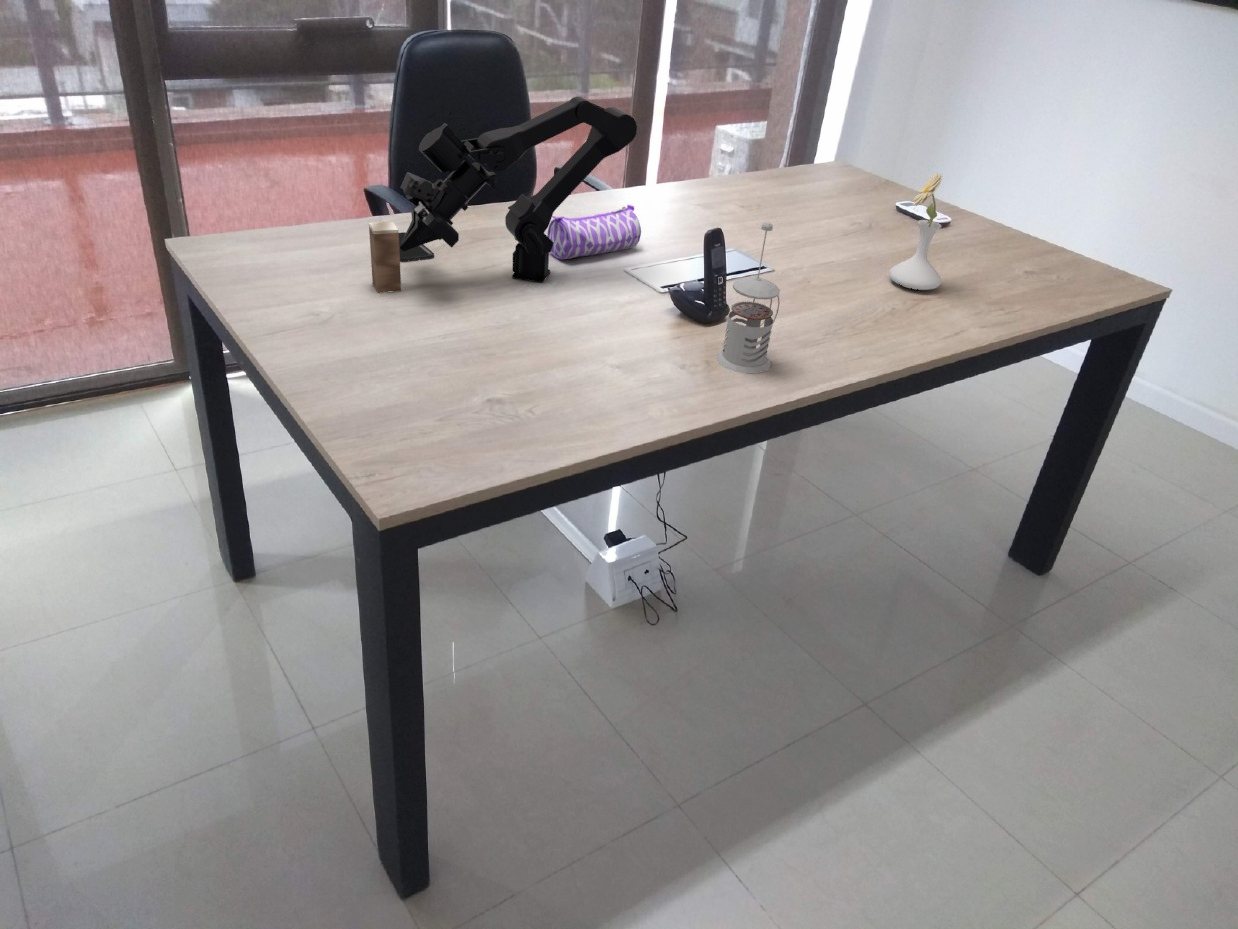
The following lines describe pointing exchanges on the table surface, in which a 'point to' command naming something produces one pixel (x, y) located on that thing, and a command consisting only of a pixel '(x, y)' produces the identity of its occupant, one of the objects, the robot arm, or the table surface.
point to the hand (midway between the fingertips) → (401, 249)
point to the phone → (414, 252)
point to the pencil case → (594, 233)
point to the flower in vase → (921, 246)
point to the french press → (750, 324)
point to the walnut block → (385, 256)
